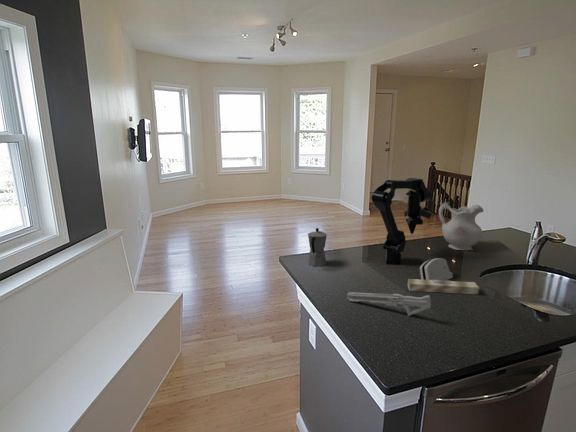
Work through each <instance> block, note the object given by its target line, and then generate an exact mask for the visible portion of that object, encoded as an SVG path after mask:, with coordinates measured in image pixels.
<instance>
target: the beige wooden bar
mask: <svg viewBox="0 0 576 432" xmlns="http://www.w3.org/2000/svg"><path fill="white" fill-rule="evenodd" d="M407 288H408V291H409V292H410V291H411V292H427V293H441V294H442V293H444V294H458V295H459V294H463V295H479V292H480V286H479V285H478V284H477V282H475V281H457V280H454V281H453V280H449V279H448V280H421V278H420V279H418V278H417V279H416V278H407Z"/></svg>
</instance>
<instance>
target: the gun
mask: <svg viewBox="0 0 576 432" xmlns="http://www.w3.org/2000/svg"><path fill="white" fill-rule="evenodd" d="M346 298H347V300H349V302H356V303H359V302H369V303H371V304H381V305H382V304H383V305H385V306H387V307H395V308H398V309H405V311H406V313H407V316H408V317H410V316H412V315H414V314H418V313H420V312H421V313H422V312H423V311H424V310H427V309H428V310H429V309H431V308H432V302H431V296H430V295H428V294H427V295H423V296H422V297H419V296H411V295H403V294H400V293H376V292H374V293H371V292H370V293H369V292H354V291H353V292H352V291H349V292H348V293H347V294H346ZM410 307H417V308H414V309H411V308H410Z"/></svg>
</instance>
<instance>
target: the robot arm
mask: <svg viewBox="0 0 576 432" xmlns="http://www.w3.org/2000/svg"><path fill="white" fill-rule="evenodd" d="M388 189H389V192H387V190H388ZM397 189H398V190H399V189H401V190H403V189H405V190H406V189H407V190H408V191H407V192H406V193H405V195H406V196H408V198H407V204H406V207H407V210H405V211H404V212H403V216H404V217H405V221H406V225H407V226H408V230H409V233H410V234H411V235H413V234H414V232H415V231H416V228H417V225H418V226H419V225H421V226H422V225H424V219H422V218H426V219H427V220H430V218H431V217H432V214H433V213H432V211H430V210H429V208H428V207H426V206H424V207H422V206H421V203H424V202H429V201H430V200H431V199H432V197H433V196H432V193H431V191H430V190H429V188H428V187H427V186H426V184H425V182H424V179H422V178H416V177H415V178H414V177H410V178H409V177H408V178H406V179H404V180H403V179H399V180H397V179H396V180H395V179H393V180H392V179H386V180H385V181H384V183H383V184H381V185H380V186H378V187H377V188H376V189H375V190H374V191H373V192H372V194H371V198H370V199H371V201H372V204H373V205H374V206H375V207H376V208H377V209H378V210H379V213H380V214H381V218H382V221H383V223H384V226H385V228H386V232H387V234H386V239H385V241H384V243H383V244H382V249H383V250H386V252H385V259H384V260H385V264H386V265H398V266H399V265H401V263H402V253H403V252H404V250H405V246H406V244H407V240H406V238H407V237H406V236H405V232H404V231H402V230H399V229H398V226H397V223H396V220H395V217H394V214H393V211H392V207H391V205H392V203H393V199H394V197H395V195H396V194H395V193H396V190H397ZM406 217H407V218H406ZM421 217H422V218H421Z"/></svg>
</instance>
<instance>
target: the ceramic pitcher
mask: <svg viewBox="0 0 576 432" xmlns="http://www.w3.org/2000/svg"><path fill="white" fill-rule="evenodd" d="M445 209H446V210H449V212H450V213H451V219H450V220H449V221H448V222H446V220H445V217H444V214H443V213H444V211H445ZM480 213H484V209H483V207H482V206H480V205H479V204H473V205H472V206H470V207H468V206H465V205H463V206H460V207H458V209H457V208H455V207H452V206H451V205H450V202H449V201H448V202H447V201H445V202H442V204H441V205H440V206H439V208H438V217H439V219H440V222H441V223H442V224H441V226H442V227H441V229H442V236H443V237H444V240H445V241H446V242H447V243H449V244H448V248H450V249H452V250H456V251H457V250H458V251H465V250H466V252H469V251H468V250H471V251H474V249H473V247H472V246H475V245H476V244H478V242H480V240H481V239H482V236H483V230H482V228H481V226H480V225H478V224H477V222H476V217H477V215H479V214H480Z"/></svg>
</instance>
